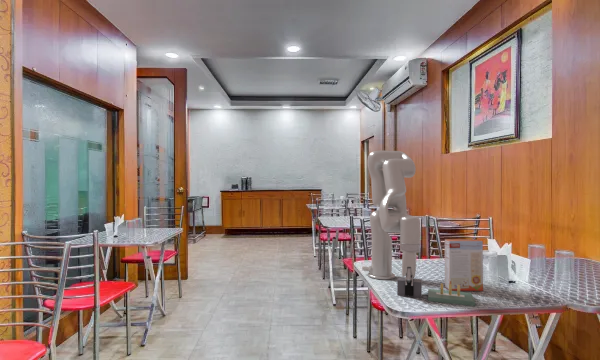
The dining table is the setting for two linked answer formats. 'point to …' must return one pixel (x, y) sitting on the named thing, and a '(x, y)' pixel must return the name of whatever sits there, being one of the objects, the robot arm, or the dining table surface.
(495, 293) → the dining table surface
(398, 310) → the dining table surface
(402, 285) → the block
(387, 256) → the robot arm
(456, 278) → the cracker box
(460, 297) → the header board
